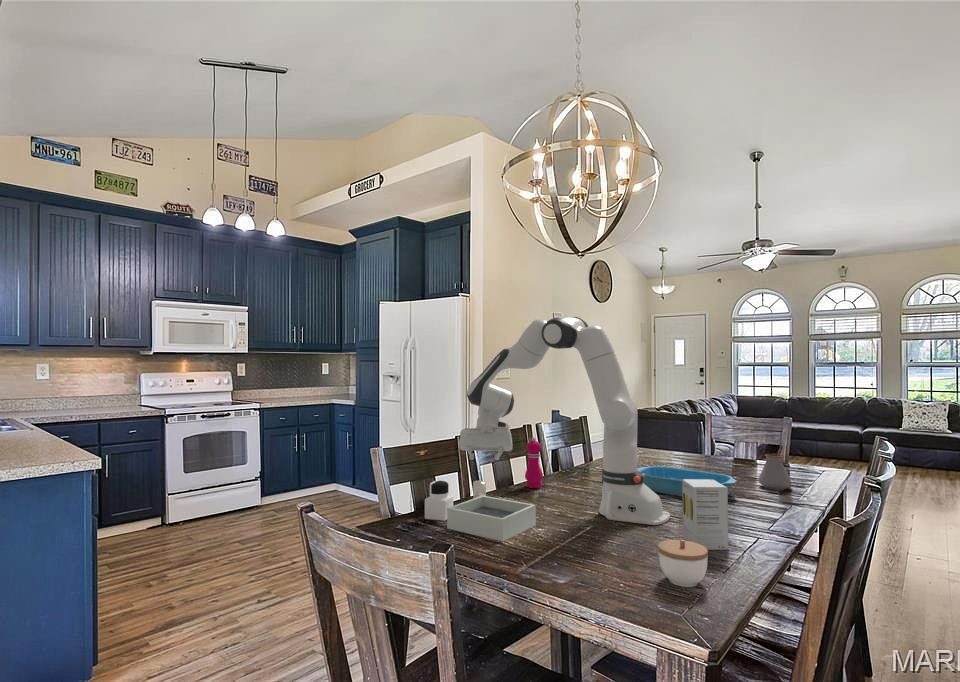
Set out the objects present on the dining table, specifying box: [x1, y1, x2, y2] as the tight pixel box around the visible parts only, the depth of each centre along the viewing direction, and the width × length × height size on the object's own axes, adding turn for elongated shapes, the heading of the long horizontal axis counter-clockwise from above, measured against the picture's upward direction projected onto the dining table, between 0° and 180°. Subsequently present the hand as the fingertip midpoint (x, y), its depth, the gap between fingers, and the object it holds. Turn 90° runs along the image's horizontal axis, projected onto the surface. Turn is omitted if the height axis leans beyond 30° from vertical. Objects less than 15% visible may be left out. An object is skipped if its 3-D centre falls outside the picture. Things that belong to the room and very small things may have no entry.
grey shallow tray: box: [471, 507, 514, 518], centre depth 160 cm, size 17×15×3 cm
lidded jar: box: [657, 539, 709, 588], centre depth 122 cm, size 11×11×9 cm
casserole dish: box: [637, 465, 737, 498], centre depth 205 cm, size 37×22×7 cm, turn 52°
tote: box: [446, 495, 537, 542], centre depth 160 cm, size 20×18×7 cm
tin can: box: [472, 480, 487, 499], centre depth 183 cm, size 4×4×9 cm
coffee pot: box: [757, 445, 792, 491], centre depth 214 cm, size 21×12×15 cm, turn 139°
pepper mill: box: [524, 436, 544, 489], centre depth 213 cm, size 7×7×20 cm
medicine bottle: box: [424, 480, 454, 522], centre depth 171 cm, size 7×7×12 cm
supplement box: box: [682, 479, 729, 551], centre depth 147 cm, size 10×9×17 cm
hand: (484, 458), depth 195 cm, fingers open, 8 cm apart
